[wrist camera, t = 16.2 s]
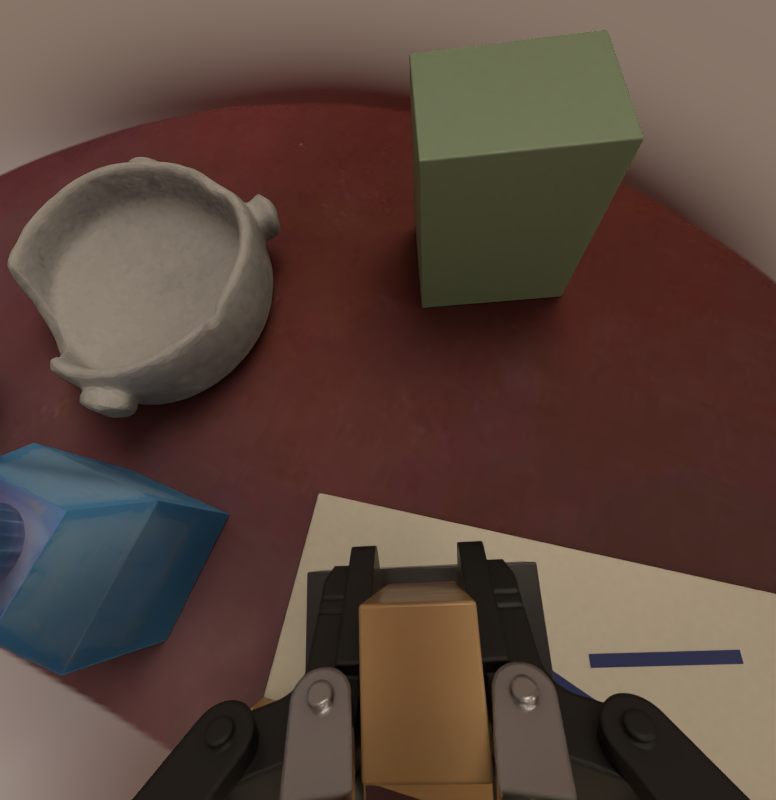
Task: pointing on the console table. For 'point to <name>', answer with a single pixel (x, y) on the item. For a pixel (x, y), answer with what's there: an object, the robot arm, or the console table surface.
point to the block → (515, 163)
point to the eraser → (426, 674)
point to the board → (587, 633)
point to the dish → (147, 281)
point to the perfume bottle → (93, 557)
